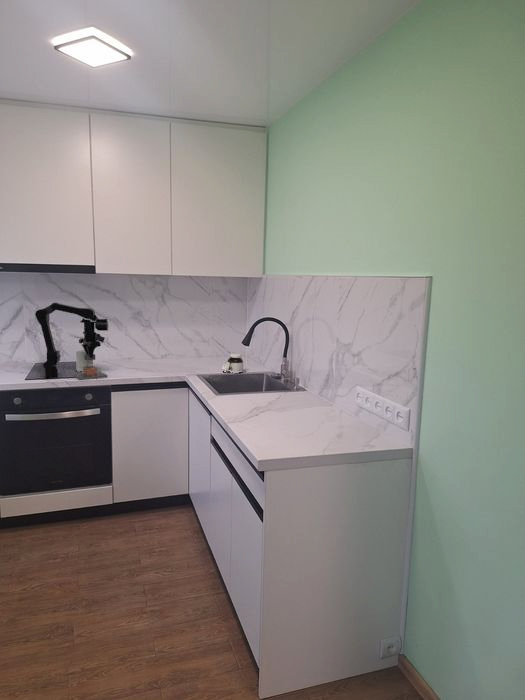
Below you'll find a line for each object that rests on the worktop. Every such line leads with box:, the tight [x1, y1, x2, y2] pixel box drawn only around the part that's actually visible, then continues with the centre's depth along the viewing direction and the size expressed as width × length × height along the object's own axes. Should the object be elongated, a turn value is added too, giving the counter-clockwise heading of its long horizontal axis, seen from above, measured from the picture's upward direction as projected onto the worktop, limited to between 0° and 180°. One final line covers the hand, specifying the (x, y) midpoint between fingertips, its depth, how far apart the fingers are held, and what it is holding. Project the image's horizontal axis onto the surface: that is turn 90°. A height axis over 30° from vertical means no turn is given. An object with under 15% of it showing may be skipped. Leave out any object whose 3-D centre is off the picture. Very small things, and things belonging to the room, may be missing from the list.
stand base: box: [72, 365, 108, 381], centre depth 280 cm, size 16×12×6 cm
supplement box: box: [75, 349, 87, 373], centre depth 298 cm, size 7×7×13 cm
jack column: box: [84, 353, 96, 368], centre depth 280 cm, size 5×4×8 cm
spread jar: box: [221, 353, 244, 372], centre depth 308 cm, size 12×11×12 cm
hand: (89, 357), depth 279 cm, fingers closed on jack column, 4 cm apart
